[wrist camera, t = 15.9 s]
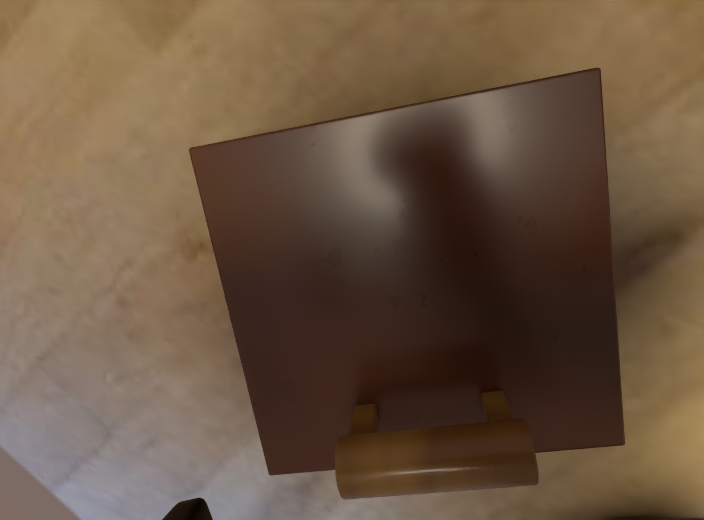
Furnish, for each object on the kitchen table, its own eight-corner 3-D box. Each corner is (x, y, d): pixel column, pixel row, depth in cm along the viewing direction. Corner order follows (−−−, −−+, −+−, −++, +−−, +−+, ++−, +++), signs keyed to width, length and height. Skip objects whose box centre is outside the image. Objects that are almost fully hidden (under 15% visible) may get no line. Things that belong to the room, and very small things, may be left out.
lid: (617, 434, 15) (689, 532, 11) (273, 465, 17) (234, 559, 13) (593, 70, 13) (671, 37, 9) (196, 148, 15) (120, 149, 11)
